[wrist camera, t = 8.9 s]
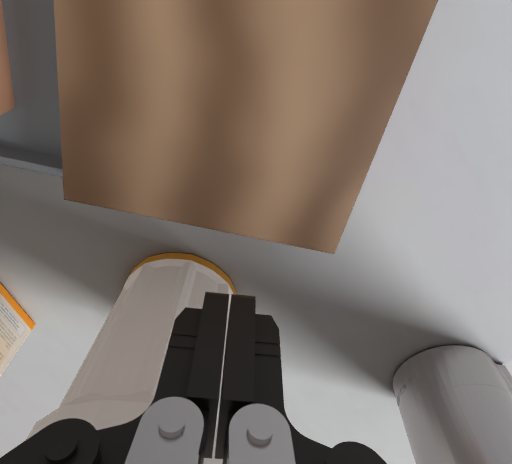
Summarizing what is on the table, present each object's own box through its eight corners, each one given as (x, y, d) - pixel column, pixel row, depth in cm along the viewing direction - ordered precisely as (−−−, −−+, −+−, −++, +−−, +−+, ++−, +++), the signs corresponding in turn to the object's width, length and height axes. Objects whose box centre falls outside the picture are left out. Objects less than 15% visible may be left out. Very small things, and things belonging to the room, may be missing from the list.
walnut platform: (427, -61, 19) (468, -74, 15) (324, 216, 27) (333, 254, 23) (92, -158, 17) (42, -199, 13) (94, 168, 26) (64, 199, 22)
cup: (92, 244, 29) (-87, 507, 14) (241, 234, 28) (211, 502, 14) (133, 347, 35) (35, 606, 20) (257, 341, 34) (247, 607, 20)
